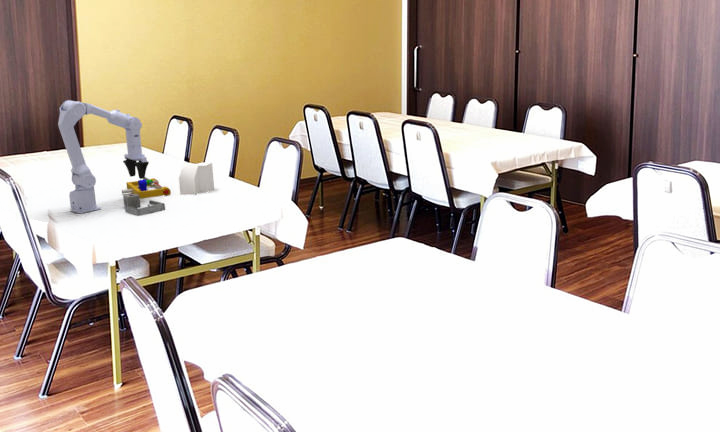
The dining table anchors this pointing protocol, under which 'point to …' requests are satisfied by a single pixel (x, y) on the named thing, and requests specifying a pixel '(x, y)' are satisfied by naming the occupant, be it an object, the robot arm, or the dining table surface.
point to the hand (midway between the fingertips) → (137, 177)
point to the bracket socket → (146, 208)
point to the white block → (196, 178)
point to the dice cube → (132, 200)
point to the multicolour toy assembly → (141, 188)
